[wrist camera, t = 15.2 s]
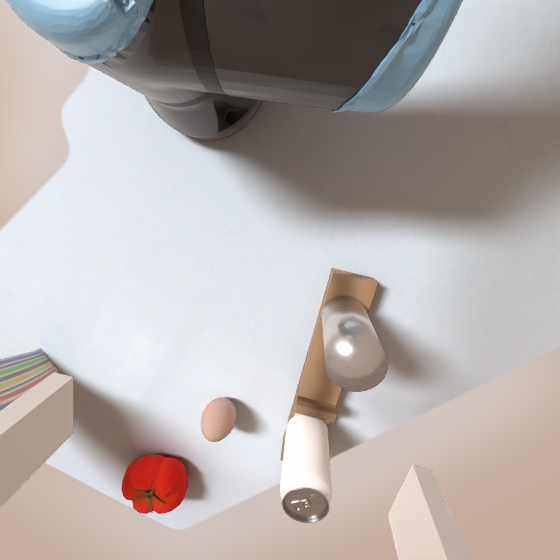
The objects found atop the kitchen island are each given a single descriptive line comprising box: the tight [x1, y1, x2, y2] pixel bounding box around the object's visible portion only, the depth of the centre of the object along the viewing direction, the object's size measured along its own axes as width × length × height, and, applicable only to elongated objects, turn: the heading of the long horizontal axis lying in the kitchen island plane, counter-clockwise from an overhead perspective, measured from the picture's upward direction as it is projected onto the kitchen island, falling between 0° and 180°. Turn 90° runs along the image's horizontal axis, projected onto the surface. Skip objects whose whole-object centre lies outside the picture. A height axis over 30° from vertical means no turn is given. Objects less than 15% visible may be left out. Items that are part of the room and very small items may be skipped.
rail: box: [281, 268, 378, 461], centre depth 44 cm, size 6×31×4 cm, turn 168°
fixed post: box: [322, 295, 388, 392], centre depth 35 cm, size 6×6×12 cm
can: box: [280, 414, 332, 523], centre depth 41 cm, size 6×6×12 cm
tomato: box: [122, 455, 188, 514], centre depth 53 cm, size 10×11×6 cm
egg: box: [201, 398, 236, 442], centre depth 47 cm, size 5×5×7 cm
